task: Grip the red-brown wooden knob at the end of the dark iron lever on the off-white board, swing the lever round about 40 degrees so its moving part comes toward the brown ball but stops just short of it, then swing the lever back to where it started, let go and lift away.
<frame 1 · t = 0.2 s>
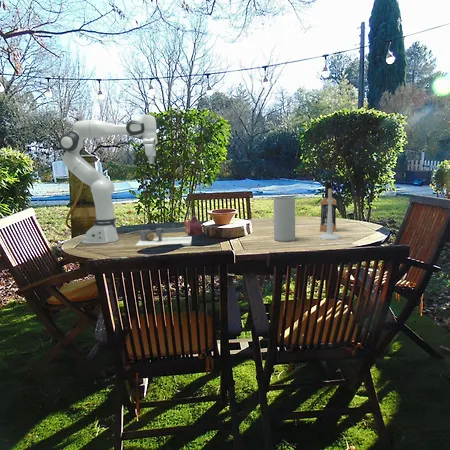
hand: (151, 163, 246), 48 cm above the table, tool pointing down, fingers open, 8 cm apart
board: (164, 242, 239), on the table
lever: (172, 227, 238), point 9 cm above the table, hinge at 0.0°
cylinder vase: (284, 240, 236), on the table
vegetable: (195, 234, 265), on the table
candlestick: (329, 238, 236), on the table
brown ball: (150, 240, 241), point 1 cm above the table, touching board
whiskey bottle: (328, 230, 261), on the table
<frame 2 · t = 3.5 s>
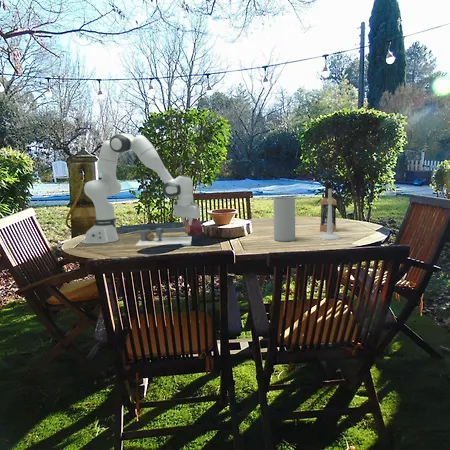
hand: (187, 224, 240), 10 cm above the table, tool pointing down, fingers closed on lever, 3 cm apart
lever: (172, 227, 238), point 9 cm above the table, hinge at 0.0°, touching gripper
everything else where it was.
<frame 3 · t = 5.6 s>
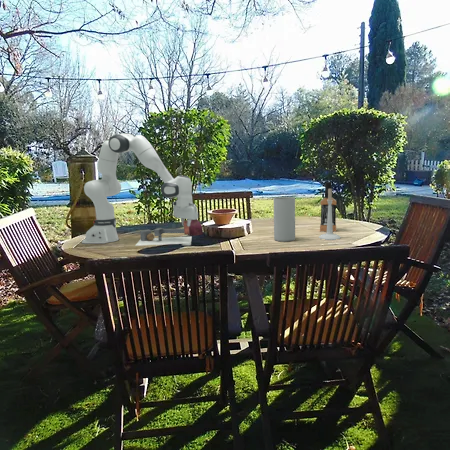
hand: (186, 225, 236), 10 cm above the table, tool pointing down, fingers closed on lever, 3 cm apart
lever: (171, 228, 236), point 9 cm above the table, hinge at 12.9°, touching gripper
everything else where it was.
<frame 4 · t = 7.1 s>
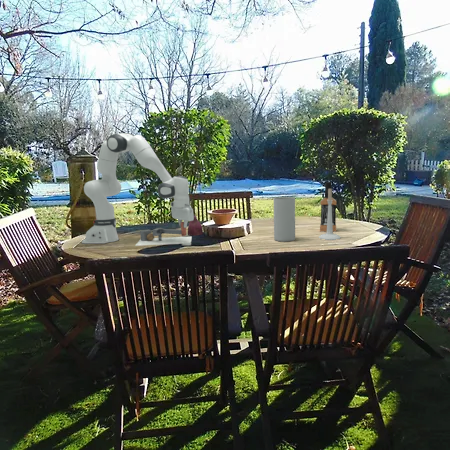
hand: (183, 227, 232), 10 cm above the table, tool pointing down, fingers closed on lever, 3 cm apart
lever: (169, 228, 235), point 9 cm above the table, hinge at 27.3°, touching gripper
everything else where it was.
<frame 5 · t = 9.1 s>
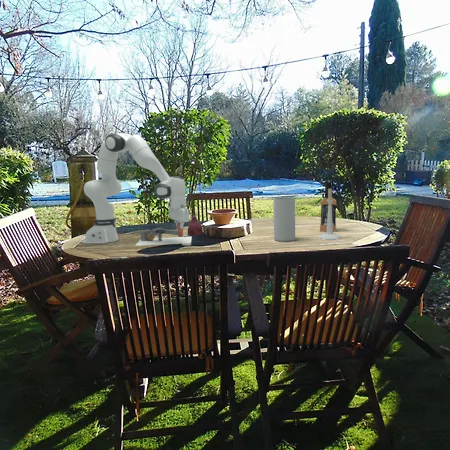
hand: (179, 228, 229), 10 cm above the table, tool pointing down, fingers closed on lever, 3 cm apart
lever: (167, 229, 233), point 9 cm above the table, hinge at 38.0°, touching gripper
everything else where it was.
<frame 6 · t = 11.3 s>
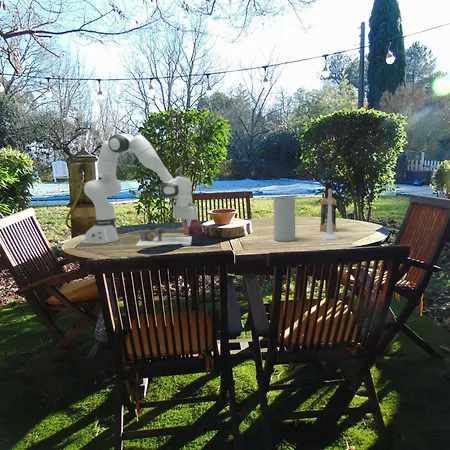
hand: (186, 225, 236), 10 cm above the table, tool pointing down, fingers open, 3 cm apart
lever: (171, 228, 236), point 9 cm above the table, hinge at 16.1°, touching gripper
everything else where it was.
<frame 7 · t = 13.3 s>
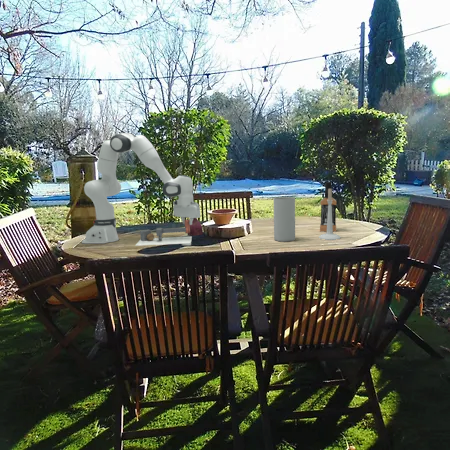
hand: (187, 224, 242), 10 cm above the table, tool pointing down, fingers open, 4 cm apart
lever: (172, 227, 239), point 9 cm above the table, hinge at -2.9°, touching gripper
everything else where it was.
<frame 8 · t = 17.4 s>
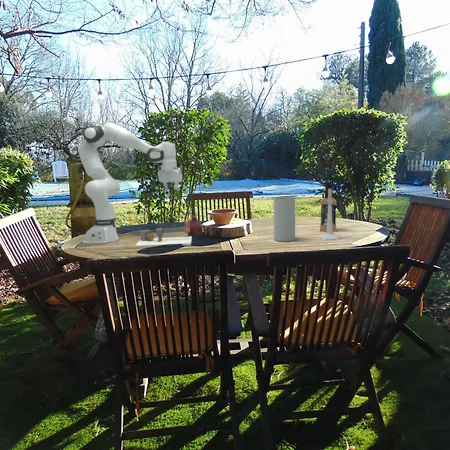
hand: (170, 189, 251), 31 cm above the table, tool pointing down, fingers open, 8 cm apart
lever: (173, 227, 239), point 9 cm above the table, hinge at -4.1°
everything else where it was.
at the end: lever at -4° (first picture: +0°); the gripper is holding nothing; brown ball moved 0.0 cm from its start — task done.
